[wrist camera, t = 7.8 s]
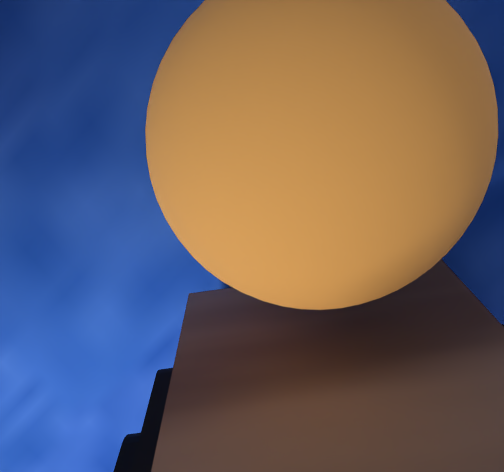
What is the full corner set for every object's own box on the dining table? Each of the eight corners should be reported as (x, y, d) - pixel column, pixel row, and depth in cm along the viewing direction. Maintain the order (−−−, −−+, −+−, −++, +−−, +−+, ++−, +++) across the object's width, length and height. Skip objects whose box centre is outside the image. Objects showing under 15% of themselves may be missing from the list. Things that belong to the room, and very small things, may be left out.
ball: (145, 4, 10) (33, -44, 4) (418, -43, 9) (629, -149, 4) (197, 250, 12) (162, 410, 7) (422, 217, 11) (569, 356, 6)
